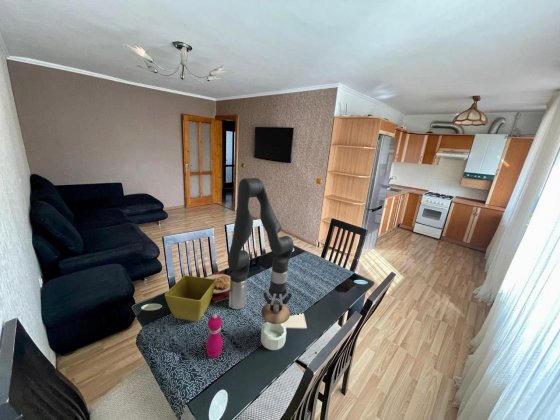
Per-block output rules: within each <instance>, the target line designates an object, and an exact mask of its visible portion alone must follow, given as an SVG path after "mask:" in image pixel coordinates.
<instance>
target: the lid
mask: <svg viewBox="0 0 560 420" xmlns="http://www.w3.org/2000/svg"><path fill="white" fill-rule="evenodd" d="M279 305H280V300H275V301H274V303H273V311H271V310H270V304H267V303H266V304H264V305H263V306H262V308H261V310H260V314H261V317H262V319H263V321H265V322H269V323H272V324H282V323H284V322H286V321H287V320H288V319H289V316H291V311H290V309H289V307H288V305H287V306H286V304H283V305H282V310H281V311H280V312H279Z"/></svg>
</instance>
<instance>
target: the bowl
mask: <svg viewBox="0 0 560 420" xmlns="http://www.w3.org/2000/svg"><path fill="white" fill-rule="evenodd" d="M260 331H261V332H260V333H261V334H260V342H261V344H262V346H263V347H264V348H265V349H267V350H270V351H278V350H281V349H282V348H283V347H284V346H285V343H286V338H287V328H286V327H285V326H284V325H283V324H272V323H269V322H267V321H265V322H264V323H263V324H262V326H261V330H260Z"/></svg>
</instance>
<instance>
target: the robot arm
mask: <svg viewBox="0 0 560 420" xmlns="http://www.w3.org/2000/svg"><path fill="white" fill-rule="evenodd" d="M250 198H256V199H257V201H258V202H259V206H260V213H259V218H260V222H261V224H262V227H263V228H264V230H265V232H266V236H267V240H268V245H269V249H270V251H271V252H272V253H273V254H274V255H275V256H274V257H273V259H272V263H271V264H272V266H271V272H270V282H269V288H268V290H266V289H265V290H263V293H262V294H263V297H264V299H265V302H266V304H270V310H271V311H273V303H274V301H276V299H277V300H279V302H280V305H279V312H280V311H281V310H282V305H283V304H284V305H287V304H288V302H289V300H290V299H291V298H292V297H293V296H292V295H293V294H292V291H291V290H287V283H288V273H289V272H288V268H289V261H290V259H291V256H292V253H293V250H294V240H293V238H292V237H291V236H289V235H283V236H280V237H279V235H278V234H279V233H280V232H281V231H282V226H281V224H280V222H279V220H278V217H276V215H275V212H274V210H273V208H272V206H271V202H270V199H269V196H268V193H267V190H266V188H265V185H264V183H263V181H262V180H261V179H260V178H259V177H250V178H249V177H245V178H242V179H240V181H239V184H238V188H237V205H236V212H235V213H236V214H235V219H234V226H233V234H232V240H231V244H230V248H229V252H228V256H227V265H228V266H227V267H228V268H229V269H230V270H231V273H230V275H229V276H230V292H229V299H228V308H231V309H233V310H241V309H243V308H244V307H246V303H247V302H246V301H247V300H246V299H247V285H248V284H247V282H248V275H249V272H250V264H251V263H250V261H251V260H250V255H249V252H248V251H247V250H245V249H244V250H243V248H244V247H245V246H244V245H246V243H247V242H248V241H249V239H250V237H251V235H252V231H253V226H254V218H253V216H252V214H251V212H250V210H249V203H250ZM269 295H270V296H271V297H269ZM284 296H285V297H284Z"/></svg>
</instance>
